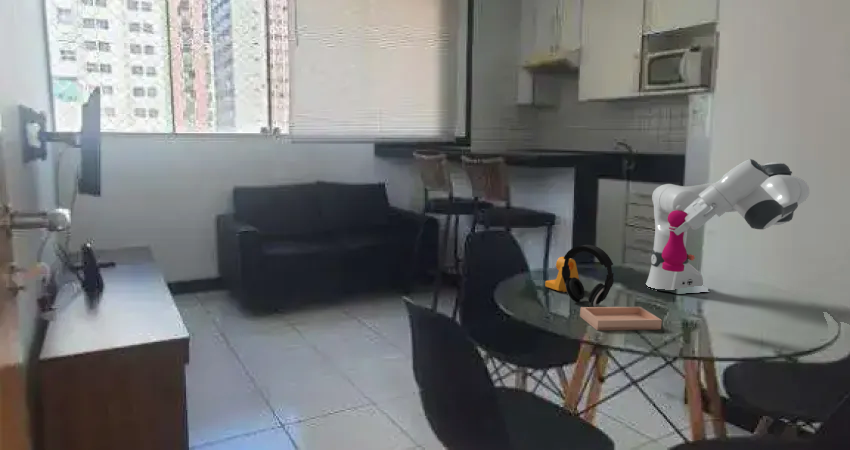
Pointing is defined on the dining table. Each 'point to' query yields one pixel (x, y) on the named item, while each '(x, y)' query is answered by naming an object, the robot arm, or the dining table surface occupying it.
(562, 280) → the bracket
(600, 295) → the headphones
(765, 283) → the dining table surface
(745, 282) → the dining table surface
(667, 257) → the pepper mill
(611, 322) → the tray
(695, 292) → the dining table surface
